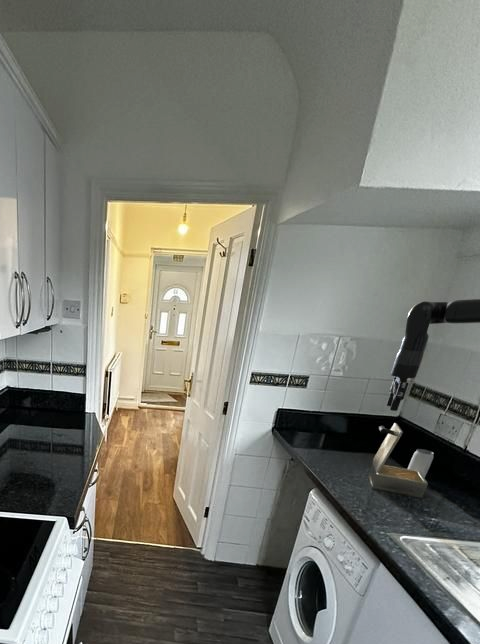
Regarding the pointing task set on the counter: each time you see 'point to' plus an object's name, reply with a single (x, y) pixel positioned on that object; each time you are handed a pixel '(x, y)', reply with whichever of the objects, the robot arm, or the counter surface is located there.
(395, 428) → the lid
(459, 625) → the counter surface
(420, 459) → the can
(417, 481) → the beige storage tray
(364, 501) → the counter surface
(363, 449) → the counter surface
